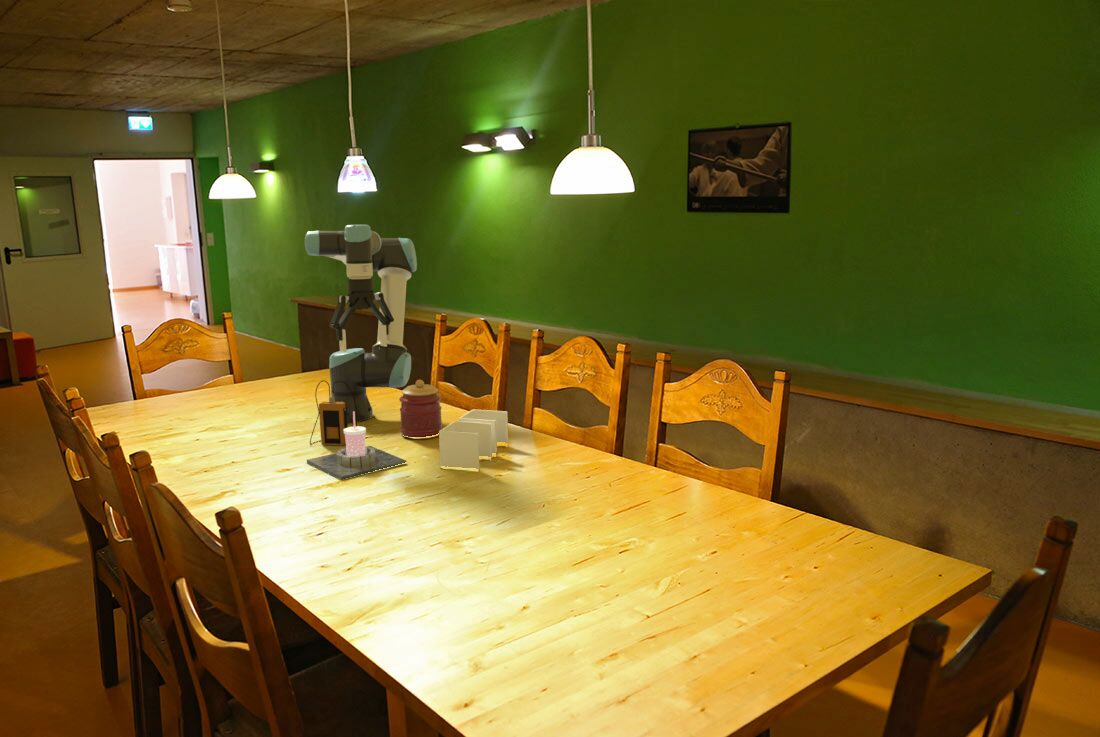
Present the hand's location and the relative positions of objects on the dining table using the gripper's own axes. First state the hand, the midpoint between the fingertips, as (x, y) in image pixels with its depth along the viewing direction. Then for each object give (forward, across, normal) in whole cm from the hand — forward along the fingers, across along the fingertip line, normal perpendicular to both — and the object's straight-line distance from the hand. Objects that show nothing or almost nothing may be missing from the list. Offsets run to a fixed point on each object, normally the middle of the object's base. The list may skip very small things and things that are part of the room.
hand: (363, 348), depth 247 cm
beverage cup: (+28, -14, -18) cm, 36 cm away
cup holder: (+29, -14, -18) cm, 37 cm away
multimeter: (+29, -7, +6) cm, 30 cm away
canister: (+29, +16, -5) cm, 33 cm away
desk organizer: (+29, +14, -36) cm, 48 cm away
